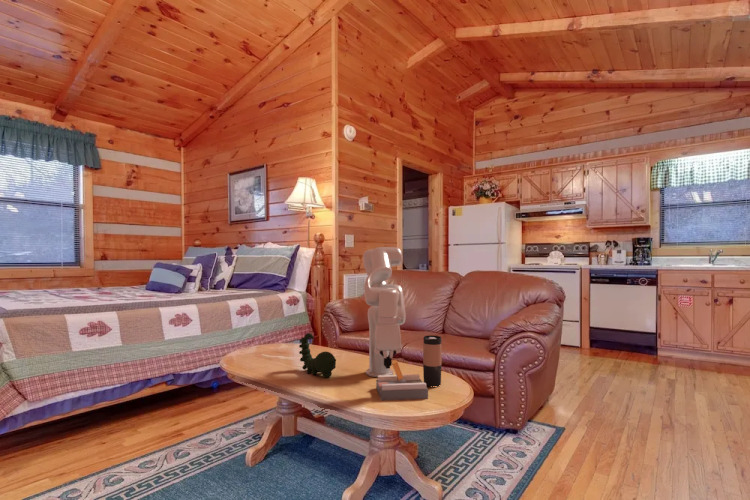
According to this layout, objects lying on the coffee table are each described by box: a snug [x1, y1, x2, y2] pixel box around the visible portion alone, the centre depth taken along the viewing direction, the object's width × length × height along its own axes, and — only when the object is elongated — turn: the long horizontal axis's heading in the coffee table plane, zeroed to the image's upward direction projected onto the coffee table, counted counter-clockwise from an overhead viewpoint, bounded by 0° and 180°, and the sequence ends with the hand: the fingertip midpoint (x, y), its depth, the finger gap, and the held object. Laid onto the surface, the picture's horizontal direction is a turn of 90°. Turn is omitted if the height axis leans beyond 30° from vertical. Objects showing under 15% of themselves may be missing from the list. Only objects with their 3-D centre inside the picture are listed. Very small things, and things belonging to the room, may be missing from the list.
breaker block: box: [375, 373, 429, 401], centre depth 158 cm, size 14×18×5 cm
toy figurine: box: [298, 332, 337, 379], centre depth 183 cm, size 9×19×25 cm
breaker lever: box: [392, 359, 405, 383], centre depth 158 cm, size 4×2×9 cm, turn 7°
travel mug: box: [422, 335, 443, 388], centre depth 169 cm, size 8×8×20 cm
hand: (387, 367), depth 157 cm, fingers closed
